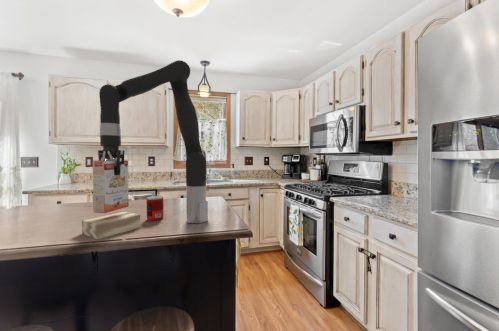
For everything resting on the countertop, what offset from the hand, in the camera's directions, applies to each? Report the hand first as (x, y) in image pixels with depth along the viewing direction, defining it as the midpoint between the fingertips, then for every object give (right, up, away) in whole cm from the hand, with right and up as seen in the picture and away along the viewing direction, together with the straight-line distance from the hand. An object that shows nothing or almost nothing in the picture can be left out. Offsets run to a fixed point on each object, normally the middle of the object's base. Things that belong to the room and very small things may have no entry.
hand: (111, 174), depth 105 cm
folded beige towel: (0, -24, +1) cm, 24 cm away
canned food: (+11, -23, +20) cm, 32 cm away
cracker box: (0, -15, +1) cm, 15 cm away
